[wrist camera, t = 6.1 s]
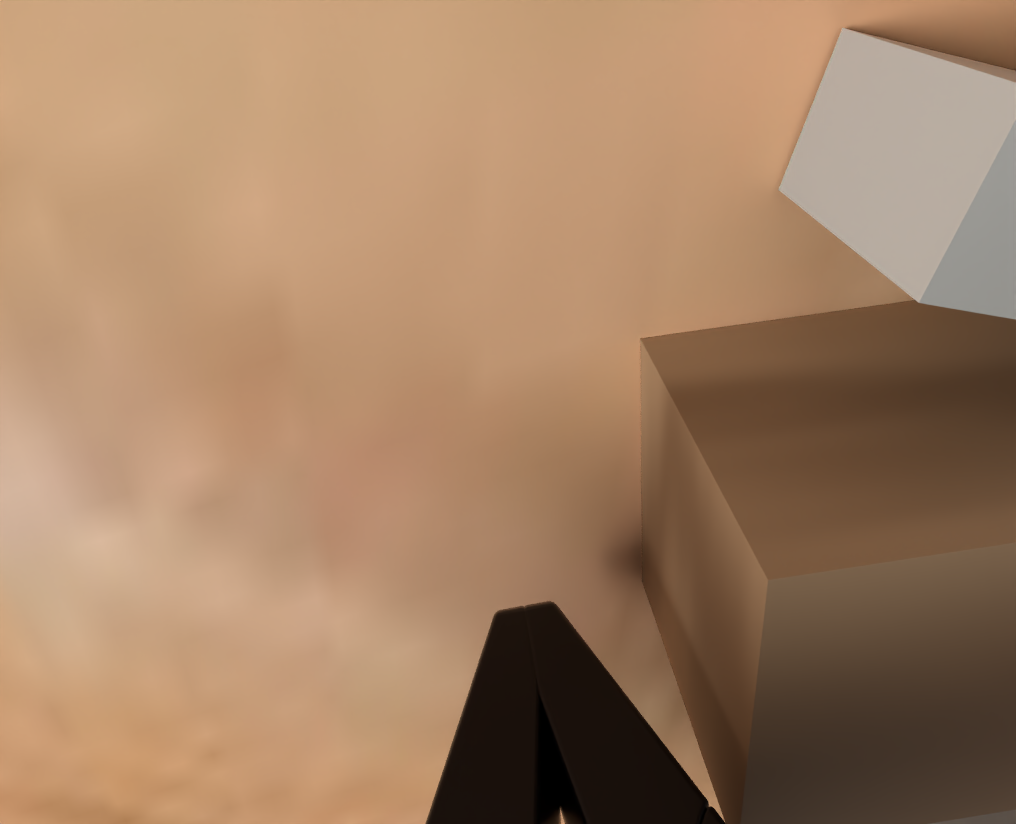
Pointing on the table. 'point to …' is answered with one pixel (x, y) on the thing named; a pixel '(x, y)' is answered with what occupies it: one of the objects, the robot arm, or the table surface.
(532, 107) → the table surface
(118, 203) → the table surface
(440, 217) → the table surface
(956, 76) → the frame
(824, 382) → the tan rectangular beam
